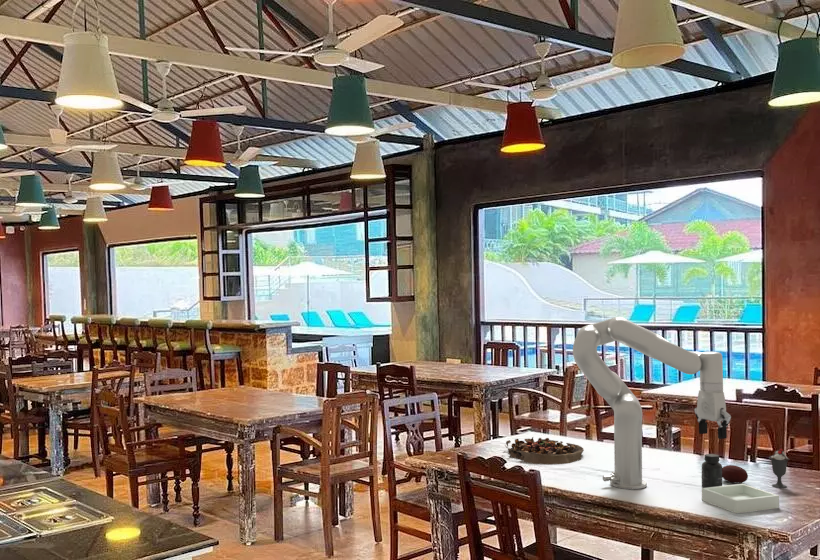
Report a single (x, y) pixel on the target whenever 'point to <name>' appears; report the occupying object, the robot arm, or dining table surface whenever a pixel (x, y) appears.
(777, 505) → the tray
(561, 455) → the food dish
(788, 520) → the dining table surface
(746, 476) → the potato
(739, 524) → the dining table surface
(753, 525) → the dining table surface
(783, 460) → the sundae
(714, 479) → the supplement bottle
